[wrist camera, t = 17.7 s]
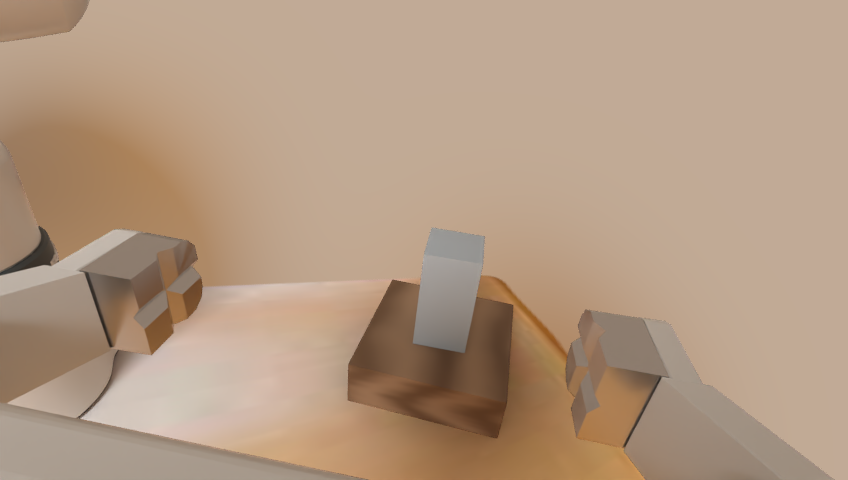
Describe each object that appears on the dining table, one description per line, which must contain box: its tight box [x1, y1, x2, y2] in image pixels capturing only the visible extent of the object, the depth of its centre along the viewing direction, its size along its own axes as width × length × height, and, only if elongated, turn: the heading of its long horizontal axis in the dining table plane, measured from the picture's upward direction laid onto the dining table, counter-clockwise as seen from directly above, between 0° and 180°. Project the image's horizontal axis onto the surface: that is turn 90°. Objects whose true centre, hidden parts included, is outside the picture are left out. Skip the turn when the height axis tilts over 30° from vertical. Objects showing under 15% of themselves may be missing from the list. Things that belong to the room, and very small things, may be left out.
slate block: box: [413, 228, 485, 353], centre depth 41 cm, size 5×5×10 cm
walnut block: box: [348, 280, 513, 438], centre depth 45 cm, size 14×14×5 cm
